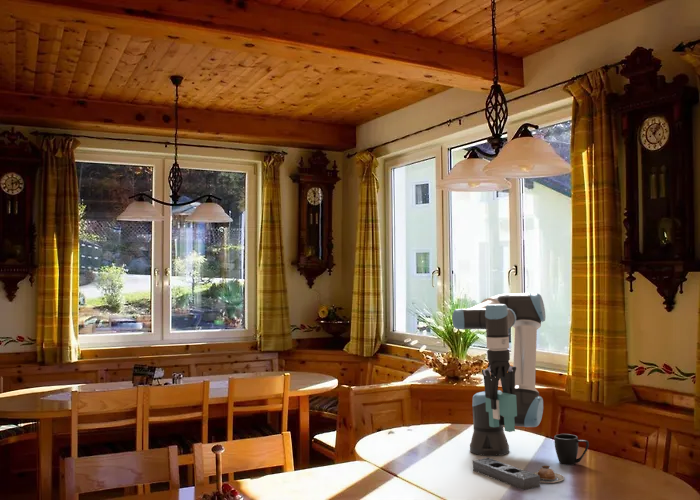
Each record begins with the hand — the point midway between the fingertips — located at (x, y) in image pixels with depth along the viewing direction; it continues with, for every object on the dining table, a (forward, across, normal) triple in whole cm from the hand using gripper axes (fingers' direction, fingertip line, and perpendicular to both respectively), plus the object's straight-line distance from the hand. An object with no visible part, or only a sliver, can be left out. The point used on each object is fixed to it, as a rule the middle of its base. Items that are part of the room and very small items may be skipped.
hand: (501, 417), depth 222 cm
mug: (+21, +32, 0) cm, 38 cm away
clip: (+4, 0, 0) cm, 4 cm away
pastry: (+21, +11, -8) cm, 25 cm away
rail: (+20, 0, 0) cm, 20 cm away
